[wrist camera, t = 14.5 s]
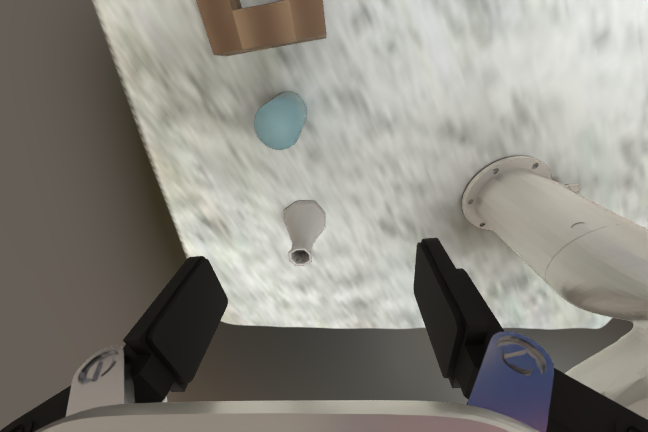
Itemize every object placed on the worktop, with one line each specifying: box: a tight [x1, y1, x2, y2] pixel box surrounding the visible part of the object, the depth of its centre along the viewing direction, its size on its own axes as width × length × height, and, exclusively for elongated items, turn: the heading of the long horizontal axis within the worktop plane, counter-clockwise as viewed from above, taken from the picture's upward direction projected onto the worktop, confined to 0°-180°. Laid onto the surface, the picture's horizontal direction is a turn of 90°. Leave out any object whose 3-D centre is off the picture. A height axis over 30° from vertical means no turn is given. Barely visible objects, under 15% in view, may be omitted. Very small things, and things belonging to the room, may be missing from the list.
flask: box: [284, 201, 325, 266], centre depth 37 cm, size 7×7×10 cm
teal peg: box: [254, 92, 307, 150], centre depth 28 cm, size 4×4×10 cm
